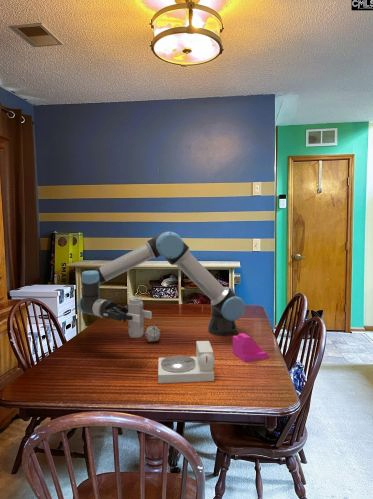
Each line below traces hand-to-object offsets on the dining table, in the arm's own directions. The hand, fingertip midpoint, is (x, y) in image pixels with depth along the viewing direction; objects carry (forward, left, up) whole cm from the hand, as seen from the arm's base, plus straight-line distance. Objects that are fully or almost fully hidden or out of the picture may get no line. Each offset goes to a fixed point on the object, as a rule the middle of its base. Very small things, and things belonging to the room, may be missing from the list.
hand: (145, 317), depth 138 cm
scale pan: (-13, +8, -17) cm, 22 cm away
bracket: (-44, -7, -20) cm, 49 cm away
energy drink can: (+4, -3, -9) cm, 10 cm away
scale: (-15, +8, -20) cm, 26 cm away
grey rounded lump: (-2, -28, -20) cm, 35 cm away
